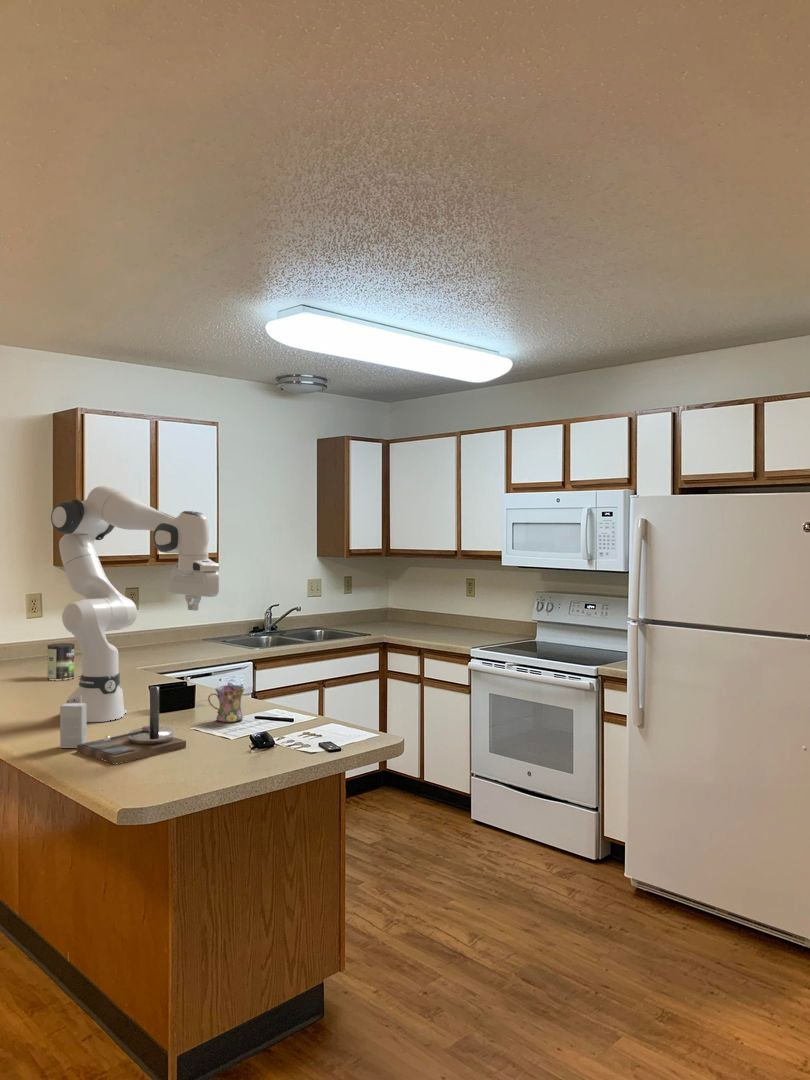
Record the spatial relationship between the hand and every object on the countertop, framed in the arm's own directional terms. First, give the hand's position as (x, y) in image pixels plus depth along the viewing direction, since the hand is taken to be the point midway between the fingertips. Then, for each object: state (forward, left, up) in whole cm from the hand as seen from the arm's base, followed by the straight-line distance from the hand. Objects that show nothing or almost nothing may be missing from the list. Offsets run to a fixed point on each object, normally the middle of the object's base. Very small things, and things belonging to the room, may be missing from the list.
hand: (193, 610), depth 244 cm
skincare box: (-11, -32, -37) cm, 50 cm away
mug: (-4, +16, -37) cm, 41 cm away
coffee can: (-114, +19, -37) cm, 121 cm away
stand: (+4, -23, -37) cm, 44 cm away
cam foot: (+7, -22, -35) cm, 42 cm away
